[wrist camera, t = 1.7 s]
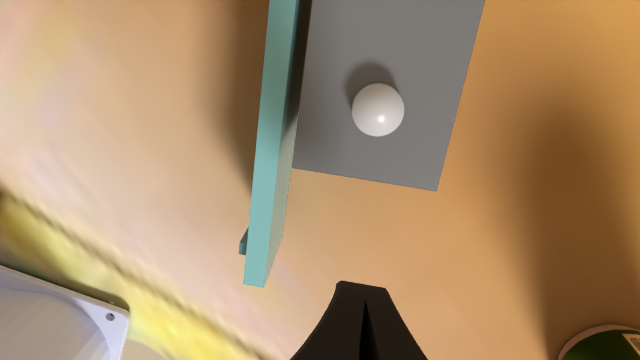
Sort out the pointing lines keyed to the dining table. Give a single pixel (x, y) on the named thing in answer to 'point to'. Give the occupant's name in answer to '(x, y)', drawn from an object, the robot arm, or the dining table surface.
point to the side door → (275, 134)
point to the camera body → (383, 87)
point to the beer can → (603, 344)
